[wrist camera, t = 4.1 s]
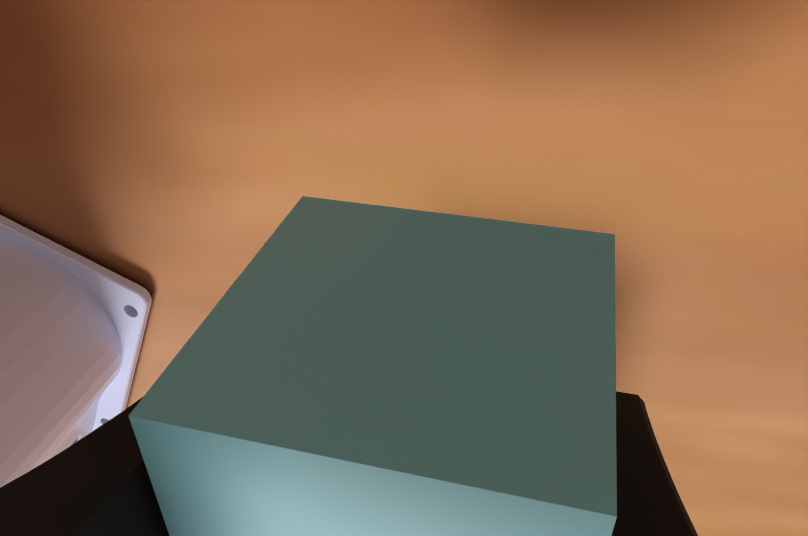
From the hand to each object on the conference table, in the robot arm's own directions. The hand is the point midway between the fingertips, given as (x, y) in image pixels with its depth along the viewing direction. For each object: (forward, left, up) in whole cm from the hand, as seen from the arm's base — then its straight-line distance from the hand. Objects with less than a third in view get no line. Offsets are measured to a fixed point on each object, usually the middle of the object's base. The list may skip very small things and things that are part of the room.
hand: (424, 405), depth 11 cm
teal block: (0, 0, -2) cm, 2 cm away
